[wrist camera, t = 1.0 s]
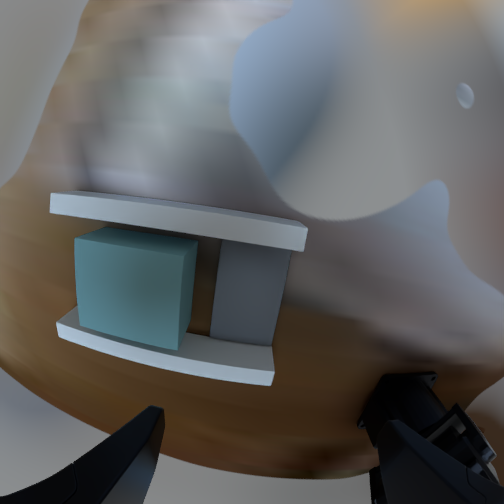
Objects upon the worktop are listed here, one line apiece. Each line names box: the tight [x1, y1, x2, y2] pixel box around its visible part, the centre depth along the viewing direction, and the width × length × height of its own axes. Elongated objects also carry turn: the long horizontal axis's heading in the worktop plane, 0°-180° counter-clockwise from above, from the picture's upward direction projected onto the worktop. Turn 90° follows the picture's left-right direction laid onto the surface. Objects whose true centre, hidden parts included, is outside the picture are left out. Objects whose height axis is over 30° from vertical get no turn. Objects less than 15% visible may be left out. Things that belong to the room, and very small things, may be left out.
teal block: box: [75, 227, 198, 351], centre depth 16 cm, size 6×6×4 cm
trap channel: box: [50, 191, 308, 386], centre depth 16 cm, size 15×10×3 cm, turn 81°
